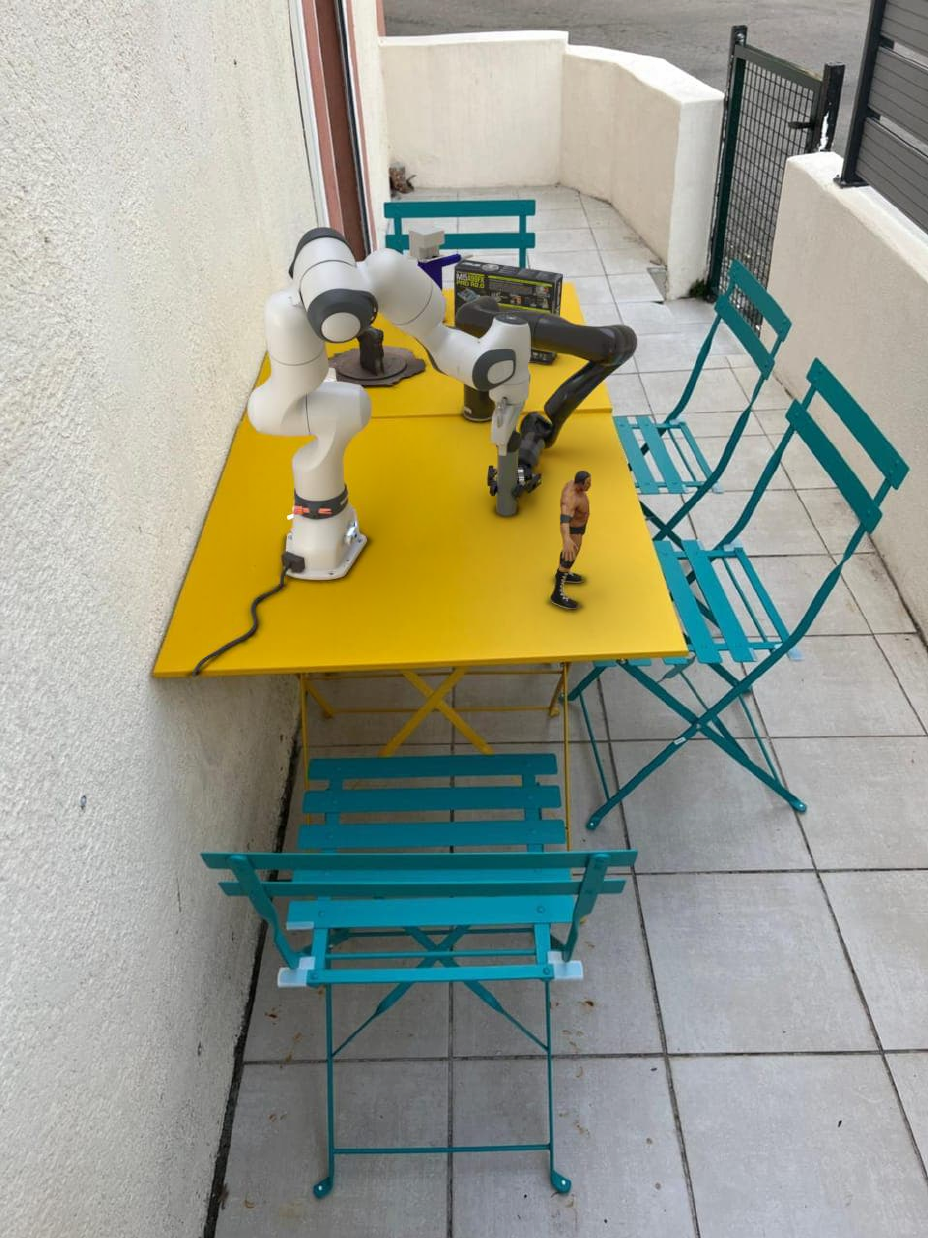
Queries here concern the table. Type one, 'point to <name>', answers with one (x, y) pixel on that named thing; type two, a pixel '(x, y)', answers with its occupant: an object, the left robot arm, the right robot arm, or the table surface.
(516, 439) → the lid
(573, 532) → the figurine
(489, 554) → the table surface
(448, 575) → the table surface
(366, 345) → the sculpture
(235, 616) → the table surface
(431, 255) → the toy
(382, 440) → the table surface
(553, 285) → the box
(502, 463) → the jar
